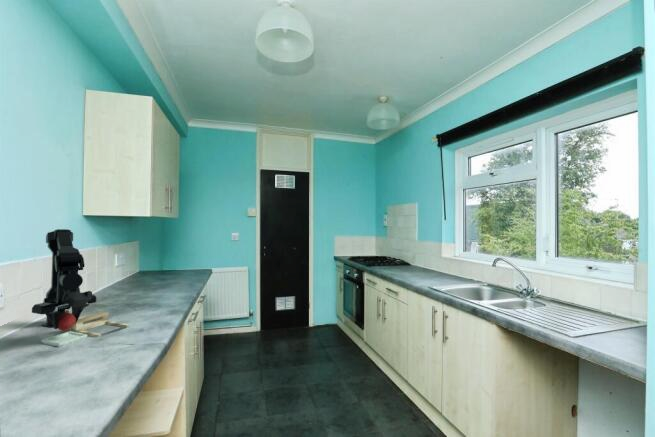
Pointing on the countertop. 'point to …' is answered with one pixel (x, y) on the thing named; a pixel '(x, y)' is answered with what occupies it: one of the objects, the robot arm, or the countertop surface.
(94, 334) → the open rectangular frame
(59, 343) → the tray
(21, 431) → the countertop surface
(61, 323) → the onion
